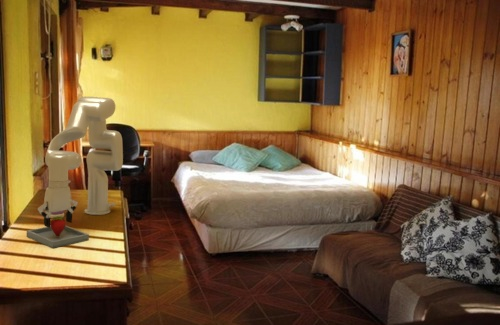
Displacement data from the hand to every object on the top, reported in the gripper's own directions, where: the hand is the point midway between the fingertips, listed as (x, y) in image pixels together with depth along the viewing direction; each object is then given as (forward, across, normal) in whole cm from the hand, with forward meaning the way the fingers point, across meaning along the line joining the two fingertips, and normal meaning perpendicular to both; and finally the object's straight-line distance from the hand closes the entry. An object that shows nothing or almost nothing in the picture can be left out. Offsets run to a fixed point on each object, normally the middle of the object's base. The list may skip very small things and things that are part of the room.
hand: (58, 224), depth 198 cm
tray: (+6, 0, 0) cm, 6 cm away
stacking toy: (+7, -16, -30) cm, 35 cm away
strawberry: (+5, 0, 0) cm, 5 cm away
